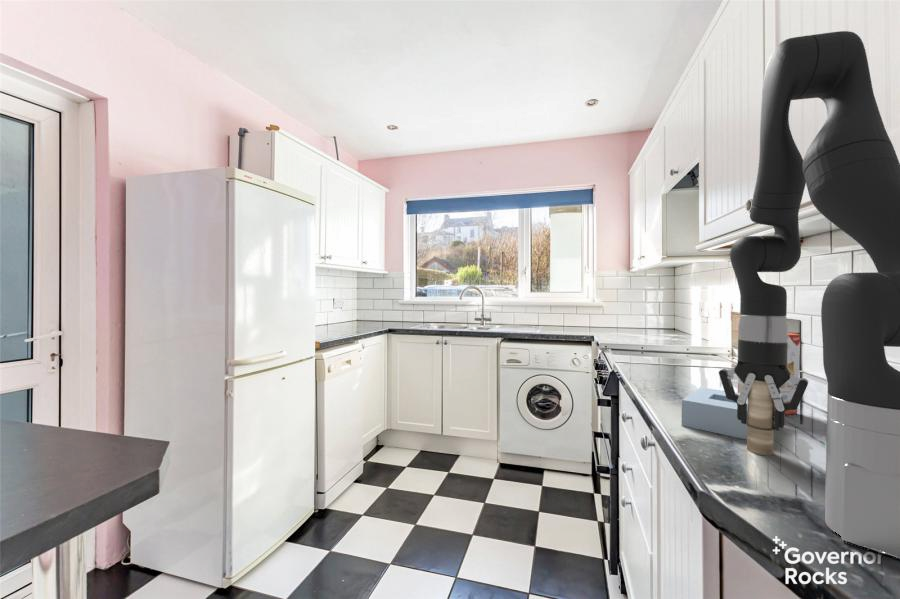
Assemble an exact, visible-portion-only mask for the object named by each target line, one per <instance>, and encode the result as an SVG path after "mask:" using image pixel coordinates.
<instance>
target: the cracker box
mask: <svg viewBox="0 0 900 599" xmlns="http://www.w3.org/2000/svg"><path fill="white" fill-rule="evenodd" d="M800 353H801V334H799V333H794V332H793V333H792V332H790V333H789V332H788V348H787V369H788V371H789V372H790V375H792V376H795V377H798V378H800V360H801V359H800V355H801V354H800ZM743 385H744V384H743V382H742V381H741V380H740V379H739V377H738V376H737V393H741V390H742V388H743ZM795 390H796V389H794V388H793V387H792V382H791V381H790V380H788V381H787V382H786V383H784V384H783V385H782V386H781V387H780V391H781V394H782V398H783V400H784V403H785V402H791V399H792V397H793V395H794V392H795ZM775 409H776V407H775V404H774V411H775ZM793 414H794V415H795V414H796V415H797V414H798V408H797V409H796V410H787V411H785V415H793Z"/></svg>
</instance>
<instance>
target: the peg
mask: <svg viewBox="0 0 900 599" xmlns="http://www.w3.org/2000/svg"><path fill="white" fill-rule="evenodd" d="M774 431H775V430H774V401H773V399H772V397H771V394H770V391H769V389H768V386H767V384H766V381H758V380H754V382H753V384H752V387H751V389H750V392H749V394H748V420H747V439H746V450H747V451H748V452H750V453H753V454H756V455H761V456H769V457H771V456H773V455H774V434H775V433H774Z"/></svg>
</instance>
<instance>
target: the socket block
mask: <svg viewBox="0 0 900 599" xmlns="http://www.w3.org/2000/svg"><path fill="white" fill-rule="evenodd" d="M735 394H737V395H740V393H738V392H736V391H735ZM746 404H747V420H748V398H747V401H746ZM681 426H682V427H687V428H690V429H691V428H692V429H696V430H700V429H701V430H700V431H706V432H710V433H715V434H718V435H719V434H720V435H724V436H728V437H734V438H737V439H742V440H747V423H746V424H742V423H741V420H738V418H737V403H736V402H735V401H732V400H729V399H727V397H726V394H725V391H724V390H722V389H721V390H720V389H714V388H707V387H701V386H700V387H699V388H697V389H696V390H695V391H693V392H692V393H690V394H689V395H687V396H686V397H684V398H682V400H681Z"/></svg>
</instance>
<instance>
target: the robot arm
mask: <svg viewBox="0 0 900 599" xmlns="http://www.w3.org/2000/svg"><path fill="white" fill-rule="evenodd" d="M806 99H807V100H809V99H820V100H822V101H823V103H824V104H825V108H826V113H827V114H826V115H827V118H826V120H825V122H824V124H823V125H822V127H821V129H820V130H819V131H818V133H817V134H816V136H815V137H814V138H813V140H812V141H811V143H810V144H809V146H808V148H807V150H806V152H805V154H804V157H802V155H801V152H800V150H799V148H798V147H797V144H796V141H795V140H794V138H793V135H792V131H791V128H790V123H789V122H790V121H789V119H790V118H789V117H790V115H789V113H790V107H791V102H792V101H796V100H806ZM760 105H761V106H760V107H761V108H760V122H759V123H760V125H759V126H760V127H759V128H760V129H759V160H758V168H757V175H756V182H755V186H754V191H753V195H752V196H753V197H752V200H751V206H750V211H749V219H750V220H751V221H752V222H753V223H756V224H759V225H765V226H770V227H773V230H774V234H773V235H747V236H741V237H739V238H738V239H737V240H735V241H734V243H733V244H732V246H731V249H730V252H729V256H730V258H729V259H730V262H731V266H732V267H731V268H732V270H733V272H734V274H735V279H736V282H737V285H738V289H739V295H740V303H739V308H740V309H739V312H740V313H739V315H740V316H739V321H738V324H737V325H738V326H737V327H738V328H737V331H738V333H737V362H736V365H735V367H734V368H730V369H729V368H728V369H726V368H722V369H720V370H719V371H718V375H719V379H720V381H721V384H722V388H723V391H725V394H726V397H727V399H729V400H732V401H735V402H736V403H737V418H738V420H741V423H742V424H746V423H747V404H746V401H747V398H748V394H749V392H750V389H751V387H752V384H753V382H754V380H758V381H766V384H767V386H768V389H769V391H770V394H771V397H772V399H773V401H774V404H775V407H776V409H775V411H774V431H778V432H780V429H784V427H785V424H786V421H785V420H786V419H785V418H786V414H785V411H787V410H796V409H797V410H798V408H799V406H800V403H801V401H802V398H803V396H804V394H805V392H806V390H807V387H808V385H809V380H808V379H807V378H803V377H799V378H798V377H795V376H792V375H790V372H789V371H788V369H787V348H788V333H789V330H788V329H789V327H788V320H787V310H788V309H787V305H788V302H787V300H788V294H787V290H786V288H785V287H784V286H781V285H777V284H773V283H767V282H764V281H763V280H762V279H761V277H760V275H759V273H783V272H784V273H785V272H788V271H790V270H792V269H793V268H794V267H795V266H796V265H797V264H798V263H799V261H800V259H801V254H802V246H801V239H800V238H801V237H800V229H799V223H800V222H799V212H800V208H801V207H800V206H801V204H802V201H803V197H804V193H805V192H804V191H805V188H807V191H808V192H807V193H808V196H809V199H810V201H811V203H812V205H813V206H814V208H816V210H817V211H818V212H819V213H820V214H821V215H823V217H824V218H825V219H827V220H828V221H829V222H831V223H832V224H833V225H835V226H836V227H837V228H838V229H840V230H841V231H842V232H844V233H845V234H846V235H848V236H849V237H850V238H852V240H854V241H855V242H856V243H858V244H859V245H860V246H861V247H862V249H864V251H865V252H866V253H867V254H868V256H869V257H870V259H871V260H872V263H873V264H874V266H875V269H876V271H877V272H874V271H873V272H848V273H843V274H840V275H837V276H836V277H834V278H833V279H831V281H830V282H829V283H828V285H826V286H827V287H826V288H825V290H824V293H823V295H822V301H821V311H820V312H821V314H820V316H821V317H820V318H821V320H820V322H821V335H822V336H821V337H822V361H823V369H824V374H825V377H826V380H827V406H826V407H827V409H826V411H827V412H826V414H827V415H826V444H825V447H826V448H825V449H826V451H825V454H826V455H825V490H824V492H825V496H824V497H825V499H824V500H825V502H824V504H825V505H824V507H825V508H824V509H825V510H824V512H825V513H824V515H825V516H824V523H825V525H826V526H827V527H828V528H829V529H830V530H831V531H833V533H835V532H836V533H837V535H838V534H839V535H840V536H841V537H840V536H839V535H838V536H839V537H840V540H841V539H842V540H845V541H848V542H851V543H854V544H858V545H861V546H866V547H869V548H875V549H878V550H881V551H884V552H887V553H890V554H892V555H895V556H897V557H899V558H900V370H897V369H896V368H894V367H893V366H892V365H890V364H889V362H888V360H887V356H886V351H885V347H890V348H891V347H892V348H895V347H896V348H897V347H898V348H899V347H900V160H899V157H898V156H897V153H896V151H895V147H894V145H893V143H892V141H891V139H890V137H889V135H888V132H887V129H886V127H885V125H884V121H883V119H882V116H881V112H880V110H879V106H878V104H877V100H876V97H875V94H874V89H873V83H872V78H871V73H870V66H869V62H868V57H867V52H866V48H865V43H864V42H863V40H862V38H861V37H860V36H859V34H857V33H855V32H853V31H847V30H845V31H844V30H841V31H832V32H824V33H823V32H822V33H817V34H811V35H802V36H801V35H800V36H795V37H790V38H786V39H785V40H783V41H781V42H780V43H779V44H778V45H777V46H776V47H775V49H774V50H773V51H772V52H771V54H770V57H769V58H768V62H767V64H766V68H765V70H764V76H763V82H762V91H761V104H760ZM735 374H736V376H737V378H738V377H739V379H740V380H741V381H742V382H743V384H744V385H743V388H742V390H741V393H740V395H737V394H735V392H736V391H735V389H734V385H733V382H732V380H733V379H734V376H735ZM788 380H790V381H791V382H792V387H793V388H794V389H796V390H795V392H794V395H793V397H792V399H791V402H785V403H784V400H783V398H782V394H781V391H780V387H781V386H782V385H783V384H784V383H786V382H787V381H788ZM836 533H835V534H836ZM842 540H841V541H842Z"/></svg>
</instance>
